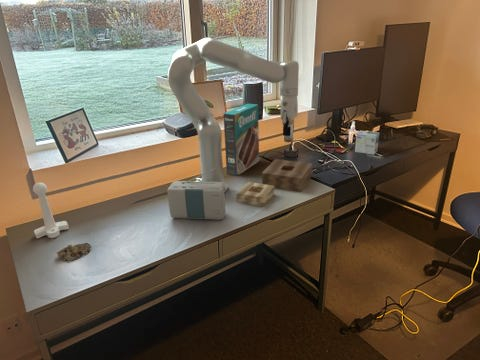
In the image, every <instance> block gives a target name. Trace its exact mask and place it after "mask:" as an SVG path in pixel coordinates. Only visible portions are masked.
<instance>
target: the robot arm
mask: <svg viewBox="0 0 480 360" xmlns="http://www.w3.org/2000/svg"><path fill="white" fill-rule="evenodd" d="M206 62H209V63H211V64H215V65H218V66H221V67H224V68H226V69H229V70H232V71H234V72H237V73H239V74H240V73H241V74H244V75H246V76H247V75H248V76H251V77H254V78H256V79H259V80H262V81H264V82H268V83H270V84H278V83H279V96H280V97H281V99H280V119H281V122H282V136H283V137H284V136H290V134H291V127H290V121H292V120H293V133H294V132H295V131H294V129H295V119H296V118H298V117H297V116H299V113H298V112H299V111H298V110H299V107H298V103H299V102H298V96H299V71H300V69H299V62H298V61H296V60H284V61H273V60H269V59H265V58H262V57H260V56H257V55H255V54H252V52H251V53H250V52H249V51H247V50H244V49H242V48H240V47H237V46H234V45H231V44H228V43H225V42H223V41H219V40H218V39H214V38H212V37H204V38H202V39H200V40H198V41H196V42H194V43H191V44H190V45H187V46H186V47H183V48H182V49H181V48H180V49H179V50H177V51H176V52H175V53H174V54H173V55H172V59H171V63H170V65H169V68H168V72H167V81H168V85H169V87H170V90H171V92H172V93H173V95H174V96H175V98H176V99H177V102H178V104H179V105H180V107H181V109H182V111H183V113H184V114H185V116H186V117H187V118H188V119H189V120H190V121H191V123H192V125H193V126H194V127H195V129H196V132H197V136H198V149H199V159H200V161H199V162H200V169H201V171H200V173H201V174H200V175H202V174H204V173H206V172H208V171H211V170H213V169H215V168H216V169H215V170H213V171H211V172H209V173H207V174H205V175H203V176H201V177H198V178H196V179H195V181H196V182H223V183H224V193H226V192H227V190H228V189H229V188H228V185H227V184H226V183H225V182H224V181H225V180H224V165H223V150H222V149H223V148H222V143H223V137H222V136H223V134H222V130H221V127H220V125H219V123H218V121H217V119H216V118H215V116H214V114H213V113H212V111H211V110H210V108H209V106H208V104H207V102H206V101H205V99H204V98H203V96H201V95H200V94H199V92H198V90H197V89H196V87H195V86H194V83H193V82H192V80H191V75H192V72H193V70H194V69H195V68H196V67H197V66H200V65H202V64H204V63H206ZM286 118H288V119H289V120H286ZM286 121H288V122H286ZM218 167H220V168H218Z"/></svg>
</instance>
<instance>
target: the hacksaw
mask: <svg viewBox="0 0 480 360" xmlns="http://www.w3.org/2000/svg"><path fill="white" fill-rule="evenodd" d="M336 159H337V160H334V157H331V161H329V162H328V163H324V164H320V165H316V166H313V165H312V174H318V173H321V172H325V171H326V170H330V169H333V168H338V167H341V166H345V165H347V164H346V163H343V162H340V161H339V160H340V159H339V157H336ZM333 163H338V164H339V165H334V166H331V167H327V168H323V167H325V166H328V165H331V164H333ZM313 169H314V170H313Z"/></svg>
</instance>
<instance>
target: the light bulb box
mask: <svg viewBox="0 0 480 360" xmlns="http://www.w3.org/2000/svg"><path fill="white" fill-rule="evenodd" d="M379 138H380V132H376V131H368V130H359V131H357V132H356V136H355V146H354V147H355V148H354V152H355V153H360V154H368V155H375V154H376V153H377V152H378V147H379V141H380V140H379Z"/></svg>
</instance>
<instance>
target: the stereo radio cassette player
mask: <svg viewBox="0 0 480 360" xmlns="http://www.w3.org/2000/svg"><path fill="white" fill-rule="evenodd" d="M218 168H220V167H218ZM215 169H216V168H215ZM215 169H213V170H215ZM213 170H211V171H213ZM211 171H208V172H206V173H204V174H200V175H197V176H195V177H193V178H192V179H189V180H175V181H173V182H172V183H171V184H170V185H169V187H168V188H167V189H166V190H167V199H168V200H167V201H168V208H169V214H170V218H173V219H189V220H191V219H192V220H194V219H195V220H214V221H215V220H217V221H221V220H223V219H224V218H225V216H226V199H225V192H224V183H225V182H224V183H223V182H196V178H201V177H202V176H203V175H205V174H207V173H209V172H211Z"/></svg>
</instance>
